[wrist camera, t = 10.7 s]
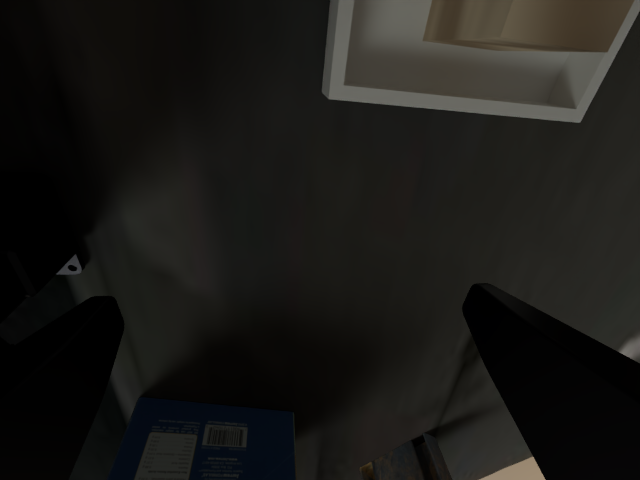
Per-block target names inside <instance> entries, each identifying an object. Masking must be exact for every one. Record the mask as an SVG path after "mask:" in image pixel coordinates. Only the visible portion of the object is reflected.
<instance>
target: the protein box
mask: <svg viewBox="0 0 640 480" xmlns="http://www.w3.org/2000/svg"><path fill="white" fill-rule="evenodd" d="M106 480H296V455H295V429H294V412H289V411H279V410H270V409H260V408H250V407H239V406H230V405H219V404H209V403H199V402H189V401H179V400H168V399H158V398H147V397H140V398H139V399H138V401H137V403H136V406H135V408H134V411H133V413H132V416H131V418H130V421H129V423H128V426H127V428H126V431H125V433H124V436H123V439H122V441H121V444H120V446H119V449H118V451H117V454H116V456H115V459H114V461H113V464H112V466H111V469H110V472H109V474H108V477H107V479H106Z"/></svg>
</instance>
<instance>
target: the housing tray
mask: <svg viewBox="0 0 640 480" xmlns="http://www.w3.org/2000/svg"><path fill="white" fill-rule="evenodd" d="M431 3H432V0H330V8H329V19H328V30H327V40H326V51H325V62H324V73H323V83H322V93H323V94H324V95H325V96H326V97H327V98H328V99H334V100H345V101H355V102H366V103H376V104H387V105H397V106H408V107H418V108H429V109H440V110H450V111H461V112H471V113H482V114H492V115H503V116H514V117H524V118H535V119H545V120H556V121H566V122H577V123H580V122H581V120H582V118H583V116H584V114H585V112H586V110H587V109H588V107H589V105H590V103H591V101H592V99H593V97H594V95H595V94H596V92H597V90H598V88H599V86H600V84H601V82H602V80H603V79H604V77H605V75H606V73H607V71H608V69H609V67H610V65H611V64H612V62H613V60H614V58H615V56H616V54H617V52H618V50H619V49H620V47H621V45H622V43H623V41H624V39H625V37H626V35H627V34H628V32H629V30H630V28H631V26H632V24H633V22H634V20H635V18H636V17H637V15H638V13H639V11H640V0H634V2H633V4H632V6H631V8H630V10H629V12H628V14H627V16H626V18H625V20H624V22H623V24H622V25H621V27H620V29H619V31H618V33H617V35H616V37H615V39H614V41H613V43H612V45H611V47H610V49H609V51H608V52H607V53H606V52H540V51H494V50H487V49H479V48H472V47H464V46H457V45H449V44H442V43H434V42H427V41H423V37H424V32H425V28H426V24H427V20H428V15H429V11H430V7H431Z"/></svg>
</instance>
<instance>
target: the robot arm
mask: <svg viewBox="0 0 640 480" xmlns="http://www.w3.org/2000/svg"><path fill="white" fill-rule="evenodd" d="M37 181H39V182H40V183H41V184H42V185H43V186H40V185H39V184H38V183H37ZM79 250H80V248H79V246H78V243H77V241H76V238H75V236H74V233H73V231H72V228H71V225H70V223H69V220H68V218H67V215H66V214H65V213H64V210H63V208H62V205H61V203H60V200H59V198H58V195H57V193H56V190H55V187H54V185H53V183H52V181H51V179H49V178H48V177H47V176H45V175H43V174H39V173H20V172H0V324H1V323H2V322H3V321H4V320H5V319H6V318H7V317H8V316H9V315H10V314H11V313H12V312H13V311H14V310H15V309H16V308H17V307H18V306H19V305H20V304H21V303H22V302H23V301H24V300H25V299H26V298H27V297H34V296H35V295H36V294H37V293H38V292H39V291H40V290H41V289H42V288H43V287H44V286H45V285H46V284H47V283H48V282H49V281H50V280H51V279H52V278H53V277H54V276H55V275H56V274H79V273H81V272H82V270H83V269H84V268H85V263H84V261H83V258H82V256H81V253H80V251H79ZM73 265H74V266H76V267H74V266H73ZM462 311H463V315H464V317H465V320H466V322H467V324H468V327H469V329H470V332H471V334H472V336H473V339H474V341H475V344H476V346H477V348H478V351H479V353H480V356H481V358H482V360H483V362H484V364H485V367H486V369H487V370H488V372H489V374H490V376H491V378H492V380H493V382H494V384H495V386H496V388H497V389H498V391H499V393H500V395H501V397H502V399H503V401H504V403H505V404H506V406H507V408H508V410H509V412H510V414H511V416H512V418H513V419H514V421H515V423H516V425H517V427H518V429H519V431H520V432H521V434H522V436H523V438H524V440H525V442H526V444H527V446H528V447H529V449H530V451H531V453H532V455H533V457H534V459H535V461H536V462H537V464H538V466H539V468H540V470H541V472H542V474H543V475H544V477H545V479H546V480H640V363H638V362H636V361H634V360H632V359H630V358H629V357H627V356H625V355H623V354H621V353H619V352H617V351H615V350H613V349H612V348H610V347H608V346H606V345H604V344H602V343H600V342H598V341H597V340H595V339H593V338H591V337H589V336H587V335H585V334H583V333H581V332H580V331H578V330H576V329H574V328H572V327H570V326H568V325H566V324H565V323H563V322H561V321H559V320H557V319H555V318H553V317H551V316H550V315H548V314H546V313H544V312H542V311H540V310H538V309H536V308H534V307H533V306H531V305H529V304H527V303H525V302H523V301H521V300H519V299H518V298H516V297H514V296H512V295H510V294H508V293H506V292H504V291H502V290H501V289H499V288H497V287H495V286H493V285H491V284H488V283H479V284H474V285H472V286H471V288H470V290H469V292H468V294H467V297H466V299H465V301H464V303H463V307H462ZM123 331H124V320H123V317H122V314H121V312H120V309H119V307H118V304H117V301H116V299H115V298H114V297H112V296H94V297H91V298H89V299H87V300H85V301H84V302H82V303H81V304H79V305H78V306H76V307H74V308H73V309H71V310H70V311H68V312H67V313H65V314H63V315H62V316H60V317H59V318H57V319H56V320H54V321H52V322H51V323H49V324H48V325H46V326H45V327H43V328H41V329H40V330H38V331H37V332H35V333H34V334H32V335H30V336H29V337H27V338H26V339H24V340H23V341H21V342H19V343H18V344H16V345H14V344H11V345H10V344H9V343H7V342H6V341H5V340H4V339H3V338H1V337H0V480H68V479H69V477H70V475H71V472H72V470H73V468H74V465H75V463H76V461H77V458H78V456H79V454H80V451H81V449H82V447H83V444H84V442H85V440H86V437H87V435H88V432H89V430H90V428H91V425H92V423H93V421H94V418H95V416H96V414H97V411H98V409H99V407H100V404H101V402H102V399H103V396H104V394H105V391H106V388H107V385H108V381H109V378H110V375H111V371H112V368H113V365H114V361H115V358H116V355H117V351H118V348H119V345H120V342H121V338H122V335H123Z"/></svg>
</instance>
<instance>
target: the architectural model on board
mask: <svg viewBox="0 0 640 480" xmlns="http://www.w3.org/2000/svg"><path fill="white" fill-rule="evenodd" d="M423 436H424V439H425V442H424V443H422V444H420V445H418V446H416V447H415V448H414V445H413V442H412V441H411V440H410V441H409V442H407V443H405V444H403V445H402V446H400V447H398V448H396V449H394V450H392V451H391V452H389V453H387V454H385V455H383V456H381V457H380V458H378V459H376V460H374V461H372V462H370V463H368V464H367V465H365V466H363V467H360V468H359V469H360V474H361V479H362V480H452V478H451V475H450V473H449V470H448V468H447V465H446V463H445V460H444V458H443V455H442V453H441V451H440V448H439V446H438V443H437V441H436V438H435V437H433V436H431V435H428V434H426V433H423Z"/></svg>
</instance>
